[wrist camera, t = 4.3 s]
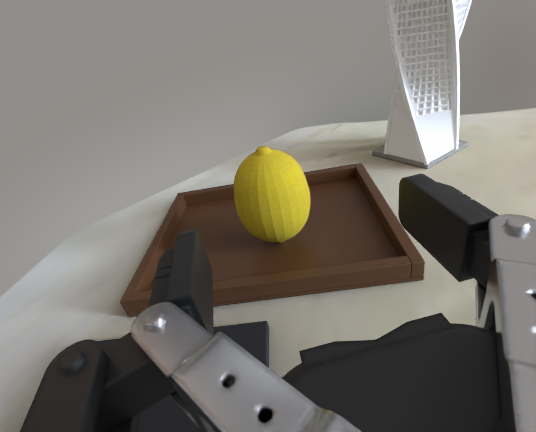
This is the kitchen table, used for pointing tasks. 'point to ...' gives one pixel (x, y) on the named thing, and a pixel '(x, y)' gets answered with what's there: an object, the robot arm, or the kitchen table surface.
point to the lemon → (271, 195)
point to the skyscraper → (424, 81)
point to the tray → (289, 244)
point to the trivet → (166, 410)
